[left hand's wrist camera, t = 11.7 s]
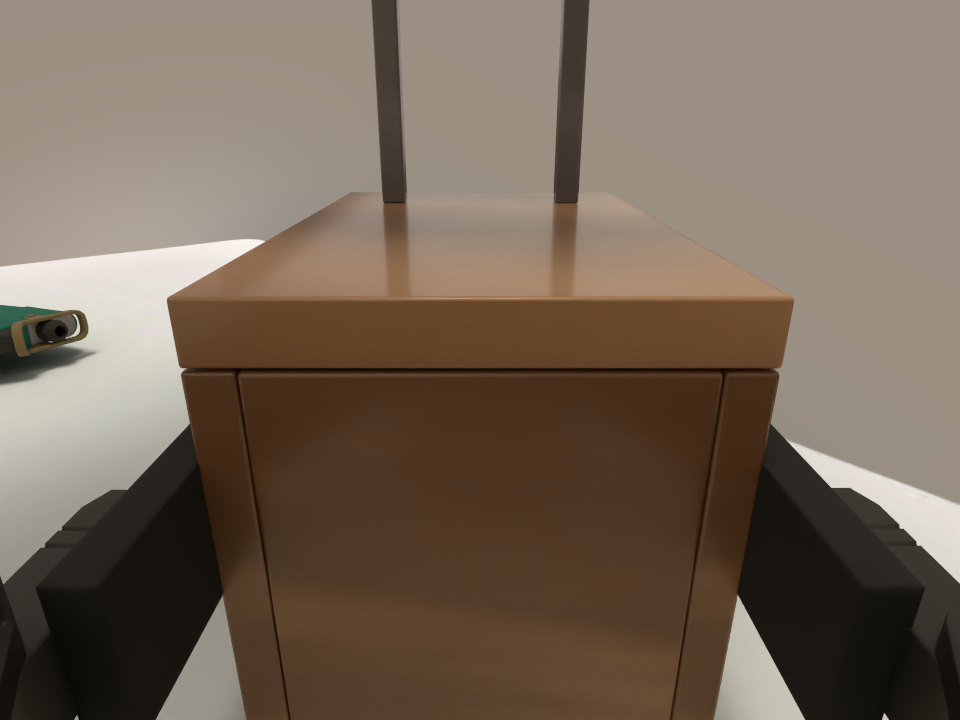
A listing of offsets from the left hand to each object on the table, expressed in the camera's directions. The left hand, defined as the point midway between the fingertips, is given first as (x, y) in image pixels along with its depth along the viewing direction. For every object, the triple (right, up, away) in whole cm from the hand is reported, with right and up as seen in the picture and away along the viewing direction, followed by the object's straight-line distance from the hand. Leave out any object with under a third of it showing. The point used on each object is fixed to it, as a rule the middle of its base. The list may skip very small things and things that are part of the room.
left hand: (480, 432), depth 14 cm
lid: (0, +4, +2) cm, 4 cm away
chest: (0, -6, +5) cm, 8 cm away
